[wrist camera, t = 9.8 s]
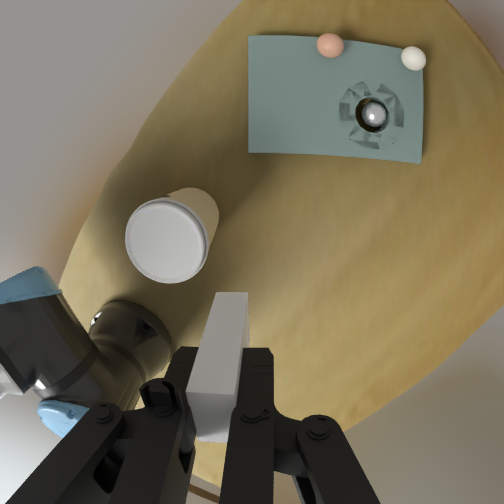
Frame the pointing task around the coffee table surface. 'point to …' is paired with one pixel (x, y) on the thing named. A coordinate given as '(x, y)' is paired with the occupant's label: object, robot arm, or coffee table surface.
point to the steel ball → (373, 114)
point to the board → (331, 99)
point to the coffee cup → (172, 235)
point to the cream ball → (413, 58)
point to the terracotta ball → (330, 45)
